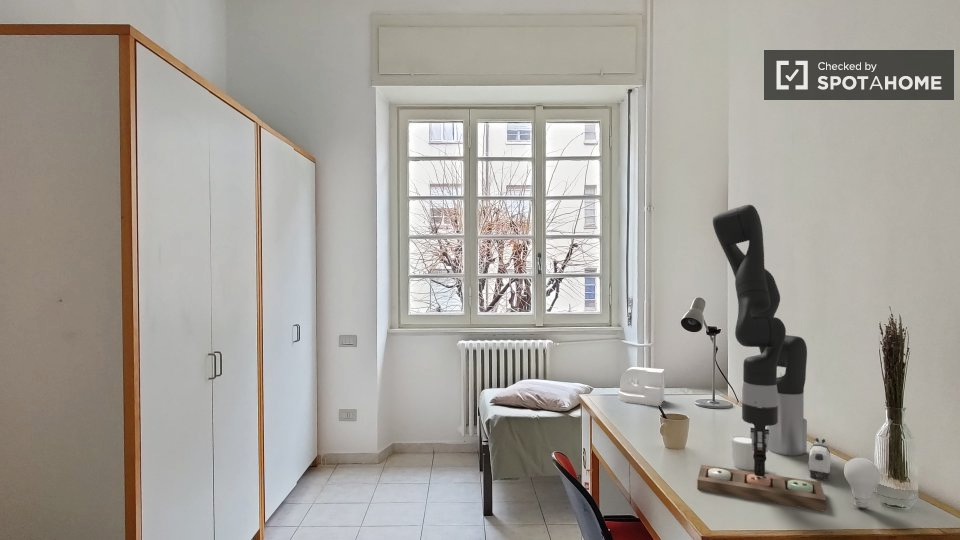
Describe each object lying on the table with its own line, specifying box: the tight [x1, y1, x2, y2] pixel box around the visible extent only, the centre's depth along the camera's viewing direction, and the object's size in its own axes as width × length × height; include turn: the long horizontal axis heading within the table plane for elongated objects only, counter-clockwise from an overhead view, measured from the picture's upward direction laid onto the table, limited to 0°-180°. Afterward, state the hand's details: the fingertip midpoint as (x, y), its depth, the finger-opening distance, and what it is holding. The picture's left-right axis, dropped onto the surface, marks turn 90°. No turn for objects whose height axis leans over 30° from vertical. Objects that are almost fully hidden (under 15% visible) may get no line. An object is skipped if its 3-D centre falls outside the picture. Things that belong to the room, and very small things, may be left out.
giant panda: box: [808, 437, 831, 481], centre depth 144 cm, size 12×5×8 cm, turn 147°
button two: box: [788, 480, 813, 494], centre depth 129 cm, size 5×5×2 cm
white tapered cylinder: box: [729, 435, 754, 471], centre depth 149 cm, size 7×7×7 cm
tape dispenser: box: [618, 366, 665, 407], centre depth 217 cm, size 16×10×13 cm, turn 63°
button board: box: [696, 464, 827, 512], centre depth 133 cm, size 26×11×2 cm, turn 64°
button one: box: [708, 468, 731, 481], centre depth 136 cm, size 5×5×2 cm
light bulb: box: [843, 457, 881, 510], centre depth 123 cm, size 7×7×11 cm
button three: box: [747, 474, 771, 487], centre depth 133 cm, size 5×5×2 cm
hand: (759, 475), depth 133 cm, fingers closed
